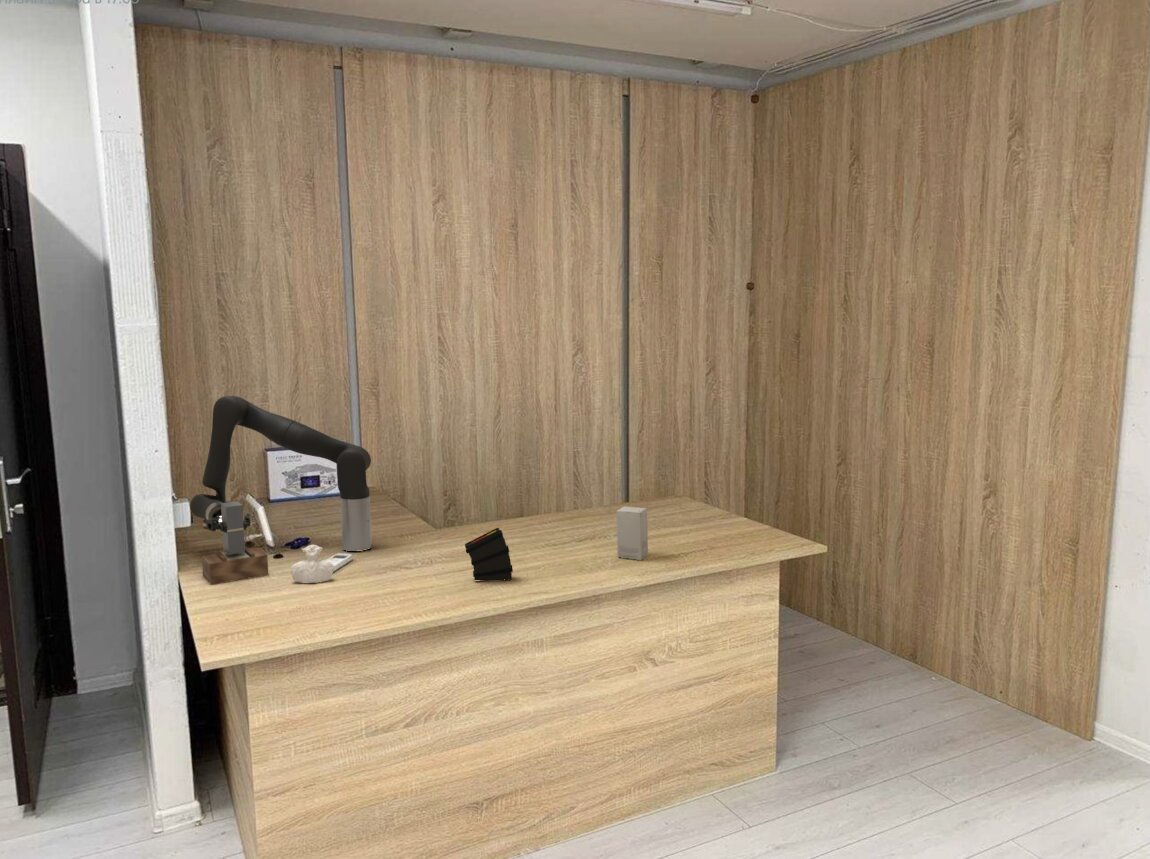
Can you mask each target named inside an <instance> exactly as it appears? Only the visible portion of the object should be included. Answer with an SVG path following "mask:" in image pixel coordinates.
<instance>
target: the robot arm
mask: <svg viewBox="0 0 1150 859" xmlns="http://www.w3.org/2000/svg"><path fill="white" fill-rule="evenodd" d="M236 426H240V427H243V428H246V429H250V430H252V431H254V432H257V433H260V434H261V435H262V436H264V437H265V438H267V439H269V441H271V442H272V443H273V444H276V445H278V446H280V447H281V448H284V449H286V450H289V451H291V452H294V453H297V454H300V455H305V456H308V457H309V456H310V457H316V458H321V459H325V460H328V461H330V462H332V463H335V464H336V480H337V489H338V491H339V501H340V503H339V504H340V505H339V506H340V526H341V527H340V528H341V548H342V549H343V550H346V551H345V552H347V551H357V550H364V549H368V548H371V549H372V546H371V545H373V538H372V518H371V503H370V502H371V501H370V495H371V494H370V488H369V486H368V484H367V483H368V482H367V470H368V469H369V468H370V466H371V463H372V457H371V455H370V453H369V452H368V451H367V450H366V449H365V448H364V447H362V446H360V445H355V444H352V443H348V442H346V441H344V440H343V441H342V440H339V439H336V438H333V437H331V436H330V435H327V434H325V433H323V432H321V431H319V430H316V429H315V428H312V427H310V426H308V425H306V424H304V423H301V422H300V421H297V420H294V419H290V418H288V417H285V416H283V415H280V414H276V413H273V412H269V411H267V410H265V409H263V408H262V407H259V406H257V405H255V404H253V403H252V402H249V401H248V400H246V399H245V398H242V397H240V396H237V395H236V396H235V395H224V396H222V397H220V398H218V399H217V400H216V401H215V403H214V405H213V409H212V425H211V435H210V442H209V443H210V444H209V449H208V456H207V460H206V463H205V468H204V472H203V477H202V485H203V486H204V487H206V488H208V489H211V490H213V491H215V495H214V494H213V495H212V494H205V493H199V494H195V495H194V496H193V497H192V498H191V500H190V503H189V508H190V511H191V513H192V514H193V515H194V516H195V517H197V518H201V519H202V528H203V529H204V530H207V531H211V532H216V531H219V532H222V533H223V532H224V533H226V532H227V525H226V524H225V523H223V521H222V513H221V503H227V498H226V485H227V481H228V476H229V471H230V467H231V442H232V437H233V434H234V430H235V428H236ZM243 527H244V531H247V530H246V529H248V528H249V527H251V514H250V513H246V514H243ZM342 549H341V550H342ZM343 550H342V551H343Z"/></svg>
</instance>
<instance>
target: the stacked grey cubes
mask: <svg viewBox="0 0 1150 859" xmlns="http://www.w3.org/2000/svg"><path fill="white" fill-rule="evenodd" d="M243 511H244V510H243V504H242V503H240V502H239V501H237V500H236V501H230V502H229V501H226V503H221V513H222V521H223V523H225V524H226V525H227V532H226V533H224V532H222V544H223V545H222V546H223V547H222V548H223V552H227V553H228V554H229V555H230V554H236V553H243V552H245V546H246V545H245V532H244V531H245V530H244V527H243V517H244V513H243Z"/></svg>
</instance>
